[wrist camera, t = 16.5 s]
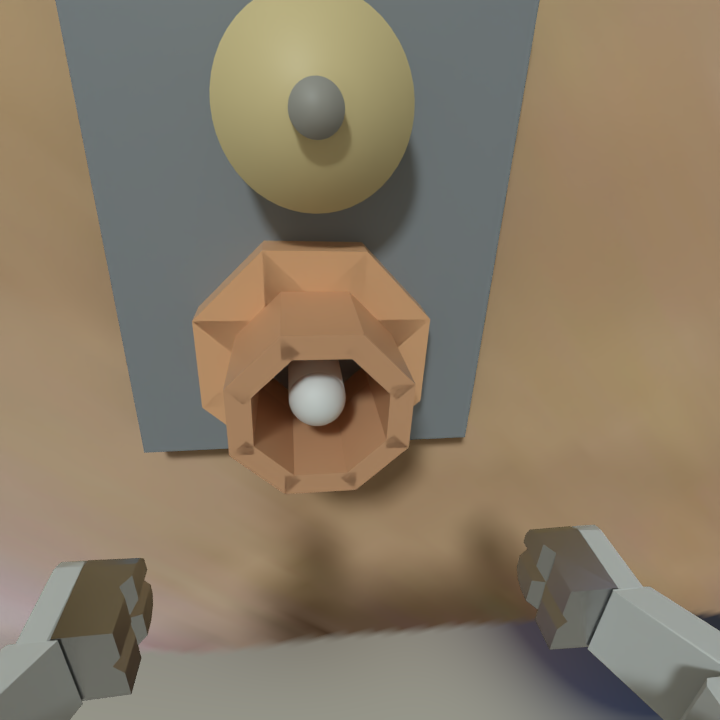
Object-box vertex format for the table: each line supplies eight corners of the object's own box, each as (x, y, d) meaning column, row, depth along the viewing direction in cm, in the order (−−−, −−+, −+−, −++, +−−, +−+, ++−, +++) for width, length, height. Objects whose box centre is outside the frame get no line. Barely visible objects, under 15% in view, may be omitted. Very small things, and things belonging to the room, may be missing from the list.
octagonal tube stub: (427, 243, 19) (476, 287, 14) (406, 431, 23) (439, 515, 18) (191, 239, 18) (155, 286, 13) (213, 439, 22) (192, 532, 17)
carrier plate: (522, -8, 17) (643, -70, 11) (455, 419, 25) (505, 510, 19) (64, -48, 15) (-75, -150, 9) (152, 433, 23) (108, 539, 17)
